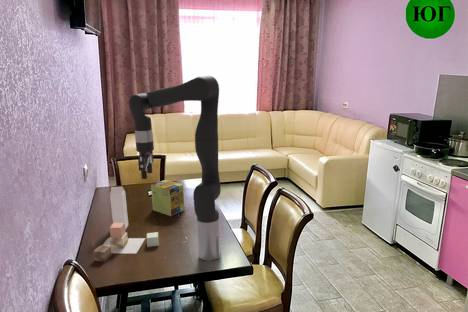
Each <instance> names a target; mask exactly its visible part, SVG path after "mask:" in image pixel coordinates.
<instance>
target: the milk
mask: <svg viewBox="0 0 468 312" xmlns="http://www.w3.org/2000/svg"><path fill="white" fill-rule="evenodd" d="M126 197H127V196H126V190H125V189H124V187H123V186H111V187H110V193H109V199H110V200H109V201H110V207H111V208H110V209H111V217H112V224H113V223H125V230H127V228H128V227H129V217H128V209H127V208H128V207H127V198H126Z"/></svg>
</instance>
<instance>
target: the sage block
mask: <svg viewBox="0 0 468 312" xmlns="http://www.w3.org/2000/svg"><path fill="white" fill-rule="evenodd" d="M146 245H147V248H151V247H157V246H160V243H159V231H157V232H156V231H155V232H147V233H146Z"/></svg>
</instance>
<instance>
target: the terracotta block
mask: <svg viewBox="0 0 468 312" xmlns="http://www.w3.org/2000/svg"><path fill="white" fill-rule="evenodd" d="M109 233H110V237H111V238H122V237H123V236H124V234H125V233H126V229H125V223H113V222H112V224H111V225H110V227H109Z"/></svg>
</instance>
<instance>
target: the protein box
mask: <svg viewBox="0 0 468 312" xmlns="http://www.w3.org/2000/svg"><path fill="white" fill-rule="evenodd" d="M150 190H151V191H150V192H151V203H152V211H154V212H158V213H160V214H163V215H166V216H169V217H172V216H175V215H177V214H180V213H181V212H184V211H185V199H184V198H185V196H184V195H185V193H184V184H183V183H178V182H174V181H170V180H167V179H164V180H161V181H157V182H155V183H151V184H150Z"/></svg>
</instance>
